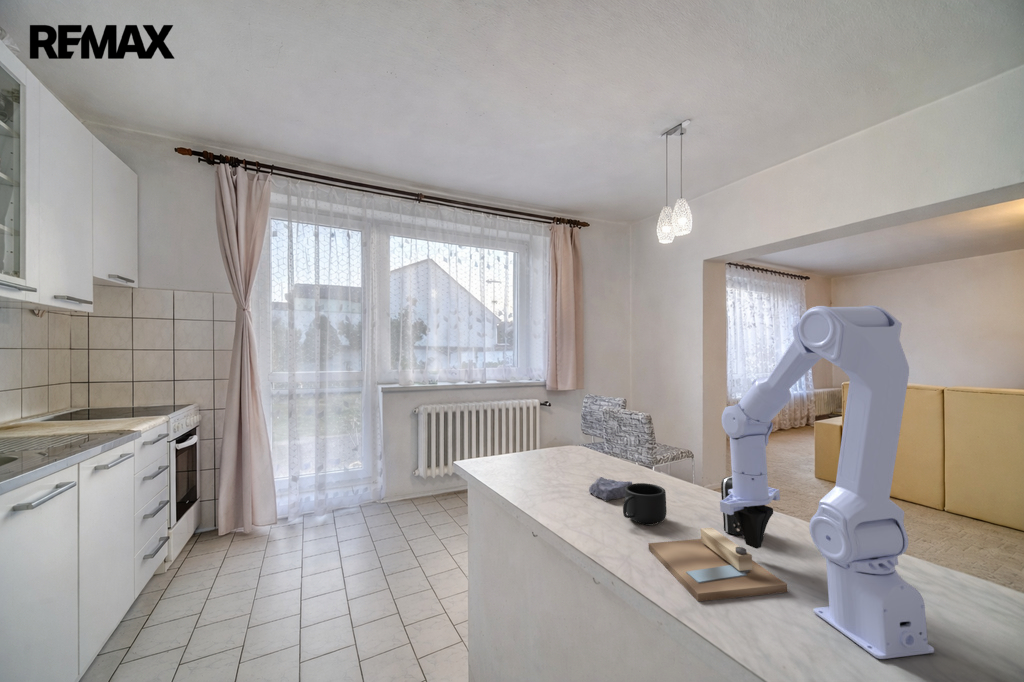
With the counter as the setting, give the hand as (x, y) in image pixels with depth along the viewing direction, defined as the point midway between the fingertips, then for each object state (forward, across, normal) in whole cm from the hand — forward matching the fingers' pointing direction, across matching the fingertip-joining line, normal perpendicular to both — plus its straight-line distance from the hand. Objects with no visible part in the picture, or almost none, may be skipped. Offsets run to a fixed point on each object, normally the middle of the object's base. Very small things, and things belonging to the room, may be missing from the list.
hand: (753, 545), depth 73 cm
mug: (+3, +5, -23) cm, 24 cm away
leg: (+1, +6, -2) cm, 6 cm away
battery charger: (+3, -9, -8) cm, 12 cm away
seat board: (+2, +10, -2) cm, 10 cm away
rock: (+3, 0, -41) cm, 41 cm away
